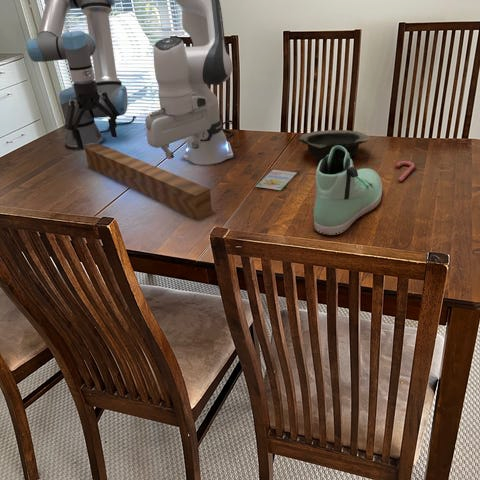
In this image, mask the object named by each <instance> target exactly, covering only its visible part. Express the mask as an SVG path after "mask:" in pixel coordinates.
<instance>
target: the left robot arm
mask: <svg viewBox="0 0 480 480" xmlns="http://www.w3.org/2000/svg"><path fill="white" fill-rule="evenodd" d="M115 1H116V0H43V2H44V9H43V14H42V17H41V21H40V24H39V29H38V33H37V36H36V37H33V38H29V39H27V41H26V45H25V46H26V52H27V54H28V58H30V60H31V61H32V62H34V63H37V62H38V63H45V62H54V61H55V62H56V61H65V60H66V61H67V65H68V70H69V74H70V78H71V82H72V83H73V84H72V86H70V87H67V88H65V89H63V90H61V91H60V92H59V94H58V99H59V105H60V108H61V113H62V116H63V119H64V129H65V130H66V133H65V136H64V138H65V139H64V140H65V144H66V148H68V149H70V150H84V147H86V146H89V145H92V144H95V143H99V144H101V145H102V143H104V135H103V133H108V132H110V135H111V137H112V138H114V139H116V138H118V135H117V130H116V128H117V126H122V125H130V124H132V123H134V122H135V119H137V117H136V116H135V115H133V116H132V120H131V121H126V122H118V123H117V119H118V117H121V116H124V115H125V114H127V112H128V111H127V110H128V102H129V101H128V100H129V99H128V98H129V97H128V89H127V87H126V86H125V85H123V84H122V80H121V79H119V78H118V74H117V68H116V59H115V54H114V45H113V39H112V31H111V30H112V29H111V23H110V17H109V15H110V14H111V13H112V11H113V9H112V7H113V6H114V5H116V2H115ZM72 9H80V10H81V13H82V14H83V15H84V16H85V19H86V24H87V25H86V26H87V31H88V33H86V32H84V31H83V30H72V31H67V32H63V29H64V27H65V26H64V25H65V21H66V16H67V14H69V12H70V11H71V10H72ZM100 118H108V119H107V121H108V127H107V128H108V129H106V130H100V129H99V127H98V125H97V124H96V121H95V119H100Z"/></svg>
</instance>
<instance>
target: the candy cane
mask: <svg viewBox="0 0 480 480" xmlns="http://www.w3.org/2000/svg"><path fill="white" fill-rule="evenodd" d="M402 166H409V167H408V168H407V169H406V170H405V171H404V172H403V173H402V174H401V175H400V176H399V177H398V178H397V181H398V182H400V183H402V182H403V181H404V180H405V179H406V177H408V175H410V173H412V172H413V171H414V169H415V168H416V164H415V163H414V162H412V161H409V160H402V161H398V162H397V163H396V164H395V167H396V168H397V169H399V168H400V167H402Z"/></svg>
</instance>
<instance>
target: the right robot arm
mask: <svg viewBox="0 0 480 480" xmlns="http://www.w3.org/2000/svg"><path fill="white" fill-rule="evenodd" d="M173 1H174V2H175V3H176V4H177V5H178V6H179V7H180V8H181V27H182V28H183V31H185V32H186V34H188V35H189V37H190V39H191V42H192V45H193V46H185V44H184V41H183V39H181V38H179V37H173V36H171V37H165V38H162V39H159V40H157V41H156V42H155V43H154V45H153V67H154V75H155V79H156V82H157V85H158V92H157V94H158V101H159V106H160V107H159V108H160V109H156V110H155V111H154V110H153V111H150V112H148V115H147V116H145V117H146V118H145V121H144V122H145V127H146V142H147V144H148V145H149V146H150V147H153V148H155V149H158V148H161V149H162V151H163V152H164V153H165V158H166V159H167V160H172V159H173V158H175V156H174V151H171V150H169V148H170V144H173V143H175V142H179V141H181V140H184V139H186V141H185V142H186V149H185V151H186V154H184V155H183V160H185V161H188V162H190V163H192V164H194V165H200V166H201V165H202V166H203V165H204V166H205V165H206V166H208V165H215V164H219V163H222V162H224V161H226V160H228V159H233V158H234V157H235V156H234V152H233V148H232V145H231V143H230V141H227V139H229V138H231V137H232V136H233V131H231V130H229V129H224V128H223V126H224V125H225V124H227V123H231V124H234V121H233V120H231V119H230V120H225V121H223V122H222V119H221V117H220V107H219V99H218V96H217V95H216V94H215V93H214V92H213V91H212V90H211V89H210V88H209V86H210V85H212V86H219V85H221V84H222V83H226V82H227V81H228V80H229V79H230V77H231V75H232V73H233V62H232V59H231V57H230V55H229V54H228V53H227V48H226V47H227V46H226V38H225V28H224V21H223V12H222V7H221V2H220V0H173ZM208 85H209V86H208ZM225 132H226V133H230V134H229V135H227V136H226V134H225Z"/></svg>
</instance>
